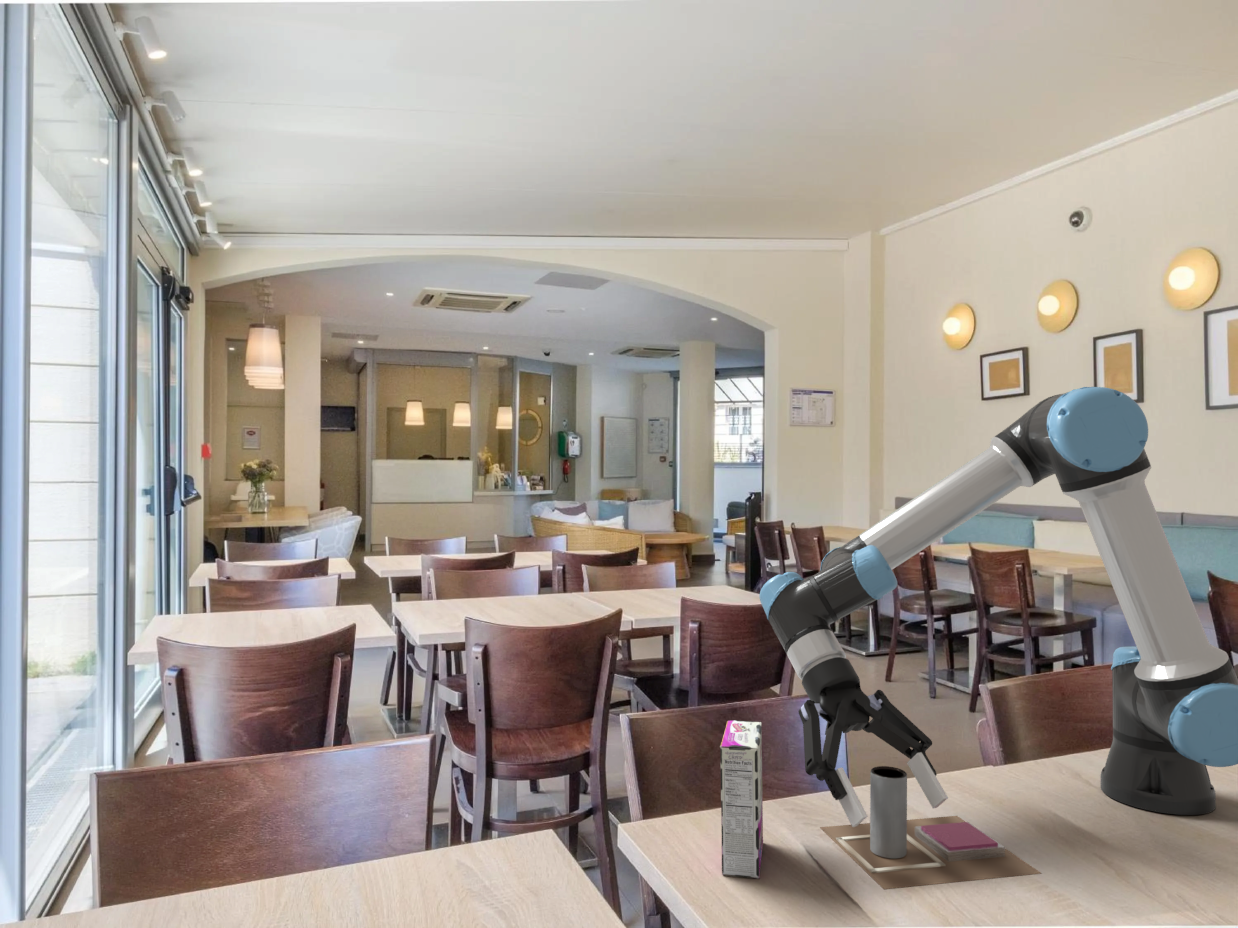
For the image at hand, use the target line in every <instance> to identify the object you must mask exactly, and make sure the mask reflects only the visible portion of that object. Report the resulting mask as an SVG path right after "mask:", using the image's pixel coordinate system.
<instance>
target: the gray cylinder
mask: <svg viewBox="0 0 1238 928" xmlns="http://www.w3.org/2000/svg"><path fill="white" fill-rule="evenodd" d="M869 778H870V785H869V787H870V789H869V790H870V791H869V792H870V797H869V798H870V799H869V801H870V803H869V804H870V805H869V806H870V808H869V809H870V810H869V811H870V813H869V816H870V817H869V823H870V849H871V851H872V852H873V853H874V854H876V855H878V856H881V857H884V858H891V859H897V858H902V857H904V856H905V855H906V852H907V820H908V773H907V772H906V771H905V770H903V769H901V768H898V767H895V766H894V767H893V766H886V765H884V766H883V765H879V766H874V767H872V768H871V769H870V777H869Z"/></svg>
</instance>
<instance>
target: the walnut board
mask: <svg viewBox="0 0 1238 928" xmlns="http://www.w3.org/2000/svg"><path fill="white" fill-rule="evenodd" d="M960 822H966V821H965V820H964V819H962V818H961V817H960V816H958V815H948V816H938V817H936V816H935V817H926V818H925V817H924V818H915V819H913V818H912V819H907V852H906V855H905V856H904V857H902V858H897V859H891V858H884V857H881V856H878V855H876V854H874V853H873V852H872V851H871V849H870V822H866V823H860V824H859V825H858V826H856V827H852V825H851V824H842V825H831V826H830V825H829V826H820V827H819V828H820V830H822V832H824V833H825V835H827V836H828V837H829V838H830V839H831V840H832V841H833V842H834V843H835V844H836V845H837V846H838V847H839V848H840V849H841V850H843V852H844V853H846V855H847V856H848V857H850V858H851V859H852V860H853V861H854V862H855V863H856V864H857V865H858V866H859V867H860V868H861V869H862V870H863V871H864V872H865V873H866V874H867V875H868V876H870V878H872V879H873V880H874V881H875V882H876V884H878V885H879V887H881V888H882V889H883V890H893V889H901V888H912V887H921V886H923V887H924V886H932V885H942V884H950V883H951V884H953V883H961V882H970V881H972V882H973V881H982V880H990V879H991V880H992V879H1002V878H1011V877H1019V876H1020V877H1023V876H1031V875H1040V874H1043V873H1042V872H1041V871H1040V870H1038V869H1036V868H1035V867H1033V866H1032V865H1030V864H1028V863H1027V862H1026V861H1025V860H1023V859H1021V858H1020V857H1019V856H1017V855H1016V854H1015V853H1012V852H1011V851H1010V850H1008V849H1006V848H1005V856H1004V857H993V858H983V859H972V860H962V861H951V862H948V861H947V860H945V859H944V858H943V857H942V856H940V855H939V854H938V853H936V852H935V851H934V850H933V849H931V848H930V847H929V846H928V845H926V844H925V843H924V842H922V841H921V840H920V839H919V838H917V837H916V836H915V827H916V826H925V825H937V824H949V823H960Z"/></svg>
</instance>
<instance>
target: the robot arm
mask: <svg viewBox="0 0 1238 928" xmlns="http://www.w3.org/2000/svg"><path fill="white" fill-rule="evenodd" d="M1148 438H1149V424H1148V419H1147V417H1146V415H1145V412H1144V410H1143V409H1142V407H1140V405H1139V404H1138V403H1137V402H1136V401H1135V400H1134V399H1133V398H1132V397H1130V396H1129V395H1128V394H1125V393H1124V392H1121V391H1119V390H1116V389H1114V388H1109V387H1104V386H1103V387H1101V386H1083V387H1079V388H1077V389H1072V390H1071V391H1067V392H1063V393H1059V394H1056V395H1055V394H1054V395H1052V396H1049V397H1047V398H1045V399H1043V400H1041V401H1039V402H1038V403H1037V404H1035V405H1033V406H1032V407H1031V408H1030V409H1029V410H1027V411H1026V412H1025V413H1024V414H1023V415H1021V416H1020V417H1018V419H1016V420H1015V421H1014V422H1012V423H1011V424H1010V425H1009V426H1007V427H1005V428H1004V429H1002V431H1001V432H999V433H997V434H996V435H994V436H993V437H992V438H990V439H991V440H990V442H989V443H990V444H989V447H987V449H985V450H984V451H982V452H981V453H980V454H978V455H976V456H975V457H973V458H971V459H970V460H969V461H967V462H966V463H964V464H963V465H961V466H960V467H958V468H957V469H955V470H954V471H953V472H951V473H949V474H948V475H947V476H945V477H944V478H942V479H941V480H939V481H938V482H936V483H935V484H933V485H932V486H929V488H927V489H926V490H923V492H921V493H920V494H918V495H917V496H915V497H914V498H912V499H911V500H909V501H907V502H906V503H905V504H903V505H902V506H900V507H898V508H897V509H895V510H894V511H893V512H892V513H890V514H888V515H887V516H885V517H884V518H882V519H881V520H879V521H878V522H876V523H874V525H872V526H870V527H868V528H867V529H866V530H864V531H863V532H861V533H860V534H859V535H857V536H856V537H855V538H853V539H851V540H849V541H848V542H846V543H845V544H843V545H842V546H839V547H836V548H833V549H831V550H830V551H829V552H827V553H826V554H825V555H824V557H823V559H822V560H821V563H820V568H819V569H820V571H819V572H816V573H815V574H814V575H811V576H809V577H807V578H804V577H802V576H801V574H799V573H797V572H796V571H795V572H794V571H787V572H784V573H783V574H781V573H780V574H777V575H775V576H773V577H771V578H770V579H768V580H767V581H766V582H765V583H764V584H763V585H762V587H761V588H760V592H759V601H760V604H761V606H762V608H763V610H764V613H765V615H766V619H767V620H768V622H769V624H770V625H771V628H772V630H773V632H774V634H775V635H776V637H777V638H778V640H779V642H780V644H781V646H782V648H783V650H784V652H785V654H786V655H787V658H788V659H789V661H790V663H791V665H792V667H793V669H794V671H795V673H796V676H797V677H798V678H799V680H801V684H802V688H803V689H804V691H805V693H806V695H807V697H808V699H807V700H806V701H805V702H804V703H803V704H802V706H801V707H800V708H799V709H798V715H799V718H800V720H801V722H802V728H803V729H802V730H803V747H804V748H803V750H804V751H803V752H804V753H803V754H804V768H805V769H804V770H805V773H806V774H807V775H808V776H813V775H815V776H816V779H817V780H819V781H820V782H823V781H825V783H826V785H827V788H828V790H829V792H830V794H831V795H832V797H833V799H834V800H835V801H838V802H839V803H840V805H841V807H842V809H843V811H844V813H845V816H846V817H847V820H848V821H849V823H850V825H852V827H856V826H858V825H859V824H862V822H863V821H864V820H866V819H867V817H868V814H867V811H866V810H865V808H864V806H863V805H862V802H861V800H860V799H859V797H858V794H857V792H856V791H855V789H854V786H853V785H852V783H851V781H850V779H849V778H848V775H847V773H846V771H845V769H844V768H843V767H837V763H838V762H837V761H838V758H839V757H838V756H839V751H840V745H841V740H842V736H843V735H842V734H847V733H850V732H852V731H853V732H858V731H862V730H863V731H864V732H866V733H868V734H869V733H871V734H873V735H874V736H876V737H878V738H879V739H880V740H881V741H883V742H885V743H886V744H888V745H889V746H891V747H892V748H894V749H895V750H896V751H898V752H899V753H901V754H902V755H904V756H906V757H907V758H908V759H909V760H908V761H907V762H906V764H907V765H908V767H909V769H910V771H911V772H912V774H913V776H914V778H915V780H916V782H917V783H918V784H919V787H920V788H921V790H922V792H923V793H924V796H925V797H926V799H927V801H928V802H929V804H930V806H931V808H932V809H936V808H938V807H939V806H941V805H942V804H944V803H945V801H946V800H948V799H949V797H948V795H947V793H946V791H945V790H944V788H943V786H942V784H941V782H940V780H939V779H938V778H937V771H936V769H935V768H934V766H933V765H932V763H931V761H930V759H929V758H928V755H927V754H926V751H927V750H928V749H930V747H932V745H933V741H932V739H931V738H929V736H927V735H926V734H925V733H924V732H923V730H921V729H920V728H919V727H918V726H917V725H915V724H914V723H913V722H912V721H911V720H910V719H909V718H908V717H907V716H906V715H904V714H903V713H902V712H901V710H899V709H898V708H897V707H896V706H895V705H894V704H893V703H891V700H890V699H889V698H888V697H887V696H886V694H885V693H884V691H883V690H881V689H877V690H876V691H874V693H873V694H870V695H867V694H865V693H864V691H863V690H862V689H861V681H860V677H859V676H858V673H857V672H856V670H855V668H854V667H853V665H852V662H851V661H850V660H849V659H848V658H847V653H846V652H845V651H844V649H843V647H842V645H841V644H840V642H839V640H838V638H837V636H836V635H835V633H834V631H833V630H832V628H831V627H830V625H832V624H834V623H836V622H838V621H839V620H840V619H843V618H845V617H846V616H848V615H851V614H852V613H855V612H856V611H858V610H860V609H861V608H863V607H865V606H867V605H870V604H871V603H873V602H875V601H877V600H881V599H882V598H883V597H885V595H887V594H889V593H891V592H892V591H894V590H896V588H897V587H898V580H897V578H896V575H895V573H894V571H893V570H894V569H895V568H897V567H899V566H900V565H902V564H903V563H905V562H906V561H908V560H909V559H911V558H913V557H914V556H916V555H917V554H919V553H920V552H921V551H923V550H925V549H926V548H928V547H929V546H930V545H933V544H934V543H935V542H937V541H938V540H940V539H941V538H944V537H945V536H946V535H948V534H950V533H951V532H952V531H954V530H955V529H957V528H958V527H959V526H961V525H963V524H964V523H966V522H968V521H969V520H970V519H971V520H972V518H974V517H975V516H976V515H977V516H978V514H981V512H983V511H984V510H986V509H988V508H989V507H991V506H993V504H995V503H997V502H998V501H999V500H1001V499H1003V498H1004V497H1006V496H1007V495H1009V494H1011V493H1012V492H1014V491H1015V490H1016V489H1018V488H1019V487H1023V488H1024V487H1026V488H1031V487H1033V486H1035V485H1036V484H1038V483H1039V482H1041V481H1043V480H1044V479H1047V478H1050V477H1051V476H1053V475H1055V477H1056V480H1057V482H1058V485H1059V487H1060V490H1061V492H1062V494H1063V495H1065V496H1068V497H1070V498H1072V499H1074V500H1076V501H1077V502H1078V504H1079V505H1080V508H1081V511H1082V513H1083V515H1084V516H1083V517H1084V518H1085V520H1086V523H1087V526H1088V528H1089V530H1090V531H1089V532H1090V534H1091V536H1092V539H1093V541H1094V543H1095V546H1096V548H1097V551H1098V553H1099V555H1100V558H1101V559H1100V560H1101V561H1102V564H1103V567H1104V569H1105V570H1106V573H1107V575H1108V579H1109V580H1110V584H1111V586H1112V588H1113V591H1114V594H1115V596H1116V598H1117V600H1118V604H1119V606H1120V609H1121V611H1122V613H1123V616H1124V619H1125V621H1126V623H1127V626H1128V629H1129V631H1130V634H1131V636H1132V638H1133V640H1134V644H1135V646H1120V647H1118V648H1116V649H1115V650H1114V652H1113V653H1112V654H1113V655H1112V665H1111V667H1110V670H1111V671H1112V673H1111V678H1112V679H1111V680H1112V684H1111V685H1112V742H1111V745H1110V749H1109V751H1108V755H1107V758H1106V760H1105V761H1106V762H1105V765H1104V767H1103V768H1102V769H1101V771H1100V790H1101V791H1102V793H1104V794H1105V795H1106V796H1108V797H1109V798H1111V799H1113V800H1115V801H1117V802H1120V803H1122V804H1125V805H1128V806H1131V807H1134V808H1139V809H1142V810H1146V811H1151V812H1155V813H1160V814H1161V813H1162V814H1166V815H1167V814H1169V815H1170V814H1171V815H1180V816H1196V815H1197V816H1198V815H1204V814H1209V813H1211V812H1213V811H1214V810H1215V809H1216V807H1217V805H1216V802H1217V800H1216V790H1215V787H1214V785H1213V784H1212V781H1211V779H1210V774H1209V771H1208V768H1207V767H1213V768H1226V767H1233V766H1236V765H1238V676H1237V674H1236V671H1235V668H1234V666H1233V664H1232V661H1231V659H1230V657H1229V654H1228V653H1227V651H1225V650H1223V649H1221V648H1219V647H1217V646H1215V645H1212V644H1211V643H1210V641H1209V639H1208V636H1207V634H1206V631H1205V629H1204V626H1203V624H1202V622H1201V619H1200V616H1199V615H1198V612H1197V609H1196V606H1195V604H1194V601H1193V599H1192V597H1191V594H1190V591H1189V589H1188V588H1187V587H1188V586H1187V585H1186V582H1185V580H1184V577H1183V575H1182V574H1183V573H1181V570H1180V567H1179V565H1178V562H1177V560H1176V557H1175V555H1174V553H1173V550H1172V547H1171V545H1170V542H1169V540H1168V537H1167V536H1166V533H1165V531H1164V527H1163V525H1162V524H1161V521H1160V520H1161V519H1160V518H1159V516H1158V513H1157V510H1156V508H1155V506H1154V503H1153V500H1152V499H1151V496H1150V493H1149V491H1148V489H1147V486H1146V483H1145V481H1146V479H1147V477H1148V475H1149V473H1150V471H1151V469H1152V464H1151V462H1150V460H1149V458H1148V455H1147V452H1146V450H1145V446H1146V443H1147V441H1148ZM820 717H821V718H822V719H823V720H824V721H826V727H825V731H824V735H825V738H824V743H823V748H822V739H821V738H822V737H821V724H820V723H821V722H820ZM870 718H871V719H870ZM836 768H837V769H836Z"/></svg>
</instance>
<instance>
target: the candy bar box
mask: <svg viewBox="0 0 1238 928" xmlns="http://www.w3.org/2000/svg"><path fill="white" fill-rule="evenodd" d="M762 725H763V723H762V722H761V721H748V720H747V721H746V720H727V721H726V725H725V729H724V733H723V736H722V740H721V742H720V745H719V748H720V754H719V755H720V804H721V805H720V806H721V807H720V808H721V809H720V810H721V811H720V812H721V820H720V821H721V875H723V876H727V877H735V878H744V879H745V878H749V879H760V875H761V874H760V873H761V864H762V857H763V854H762V853H763V845H764V827H763V826H764V824H763V823H764V819H763V814H764V813H763V811H764V810H763V809H764V808H763V807H764V806H763V754H762V753H763V750H762V749H763V748H762V746H763V745H762V744H763V743H762V741H763V739H762V731H763V730H762V728H763V727H762Z"/></svg>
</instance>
